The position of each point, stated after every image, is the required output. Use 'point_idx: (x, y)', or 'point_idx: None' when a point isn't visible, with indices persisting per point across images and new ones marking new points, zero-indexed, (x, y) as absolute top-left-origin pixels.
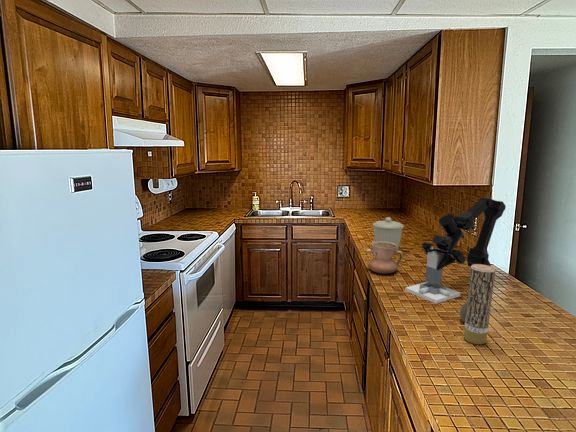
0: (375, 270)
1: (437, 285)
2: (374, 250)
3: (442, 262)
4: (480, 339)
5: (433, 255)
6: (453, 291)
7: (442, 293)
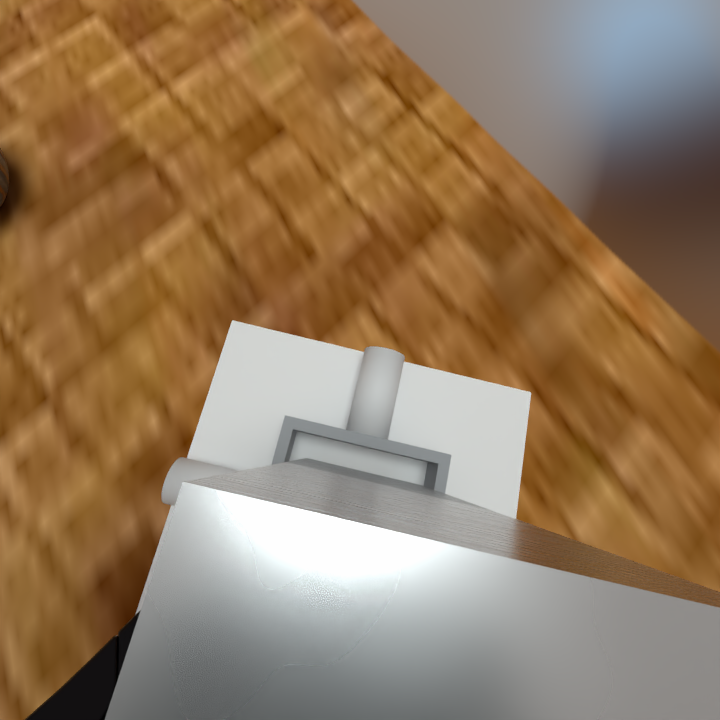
0: None
1: None
2: None
3: (129, 634)
4: None
5: (414, 528)
6: None
7: (234, 470)
